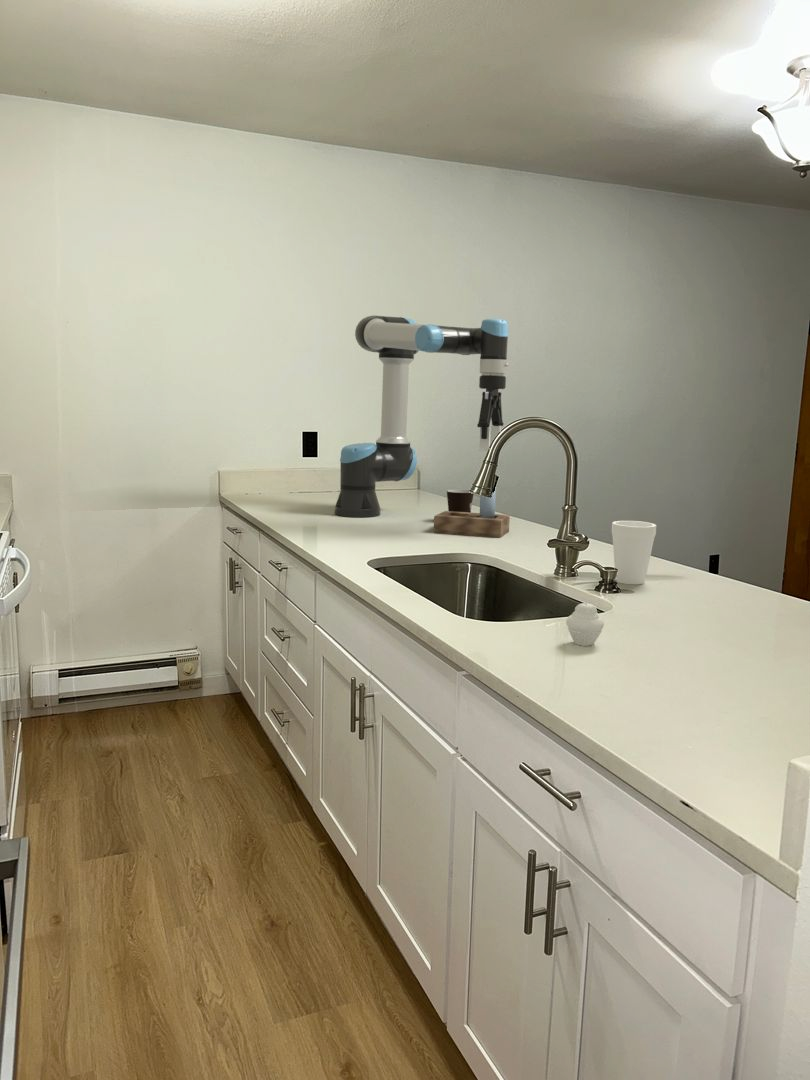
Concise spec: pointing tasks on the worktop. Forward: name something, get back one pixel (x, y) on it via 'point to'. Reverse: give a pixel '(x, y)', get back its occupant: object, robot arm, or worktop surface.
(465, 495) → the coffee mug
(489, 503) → the peg
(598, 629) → the white lidded urn
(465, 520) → the socket block
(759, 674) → the worktop surface
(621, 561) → the foam cup
